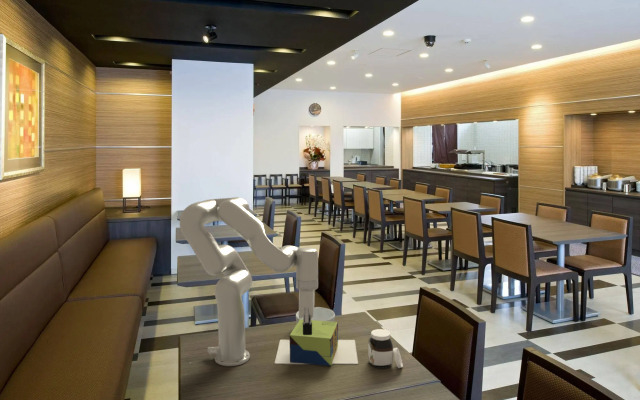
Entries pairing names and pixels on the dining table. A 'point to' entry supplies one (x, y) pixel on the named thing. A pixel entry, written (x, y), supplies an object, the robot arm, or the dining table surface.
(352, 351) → the display mat
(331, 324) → the protein box
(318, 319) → the cereal bowl
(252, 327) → the dining table surface
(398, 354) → the spread jar
